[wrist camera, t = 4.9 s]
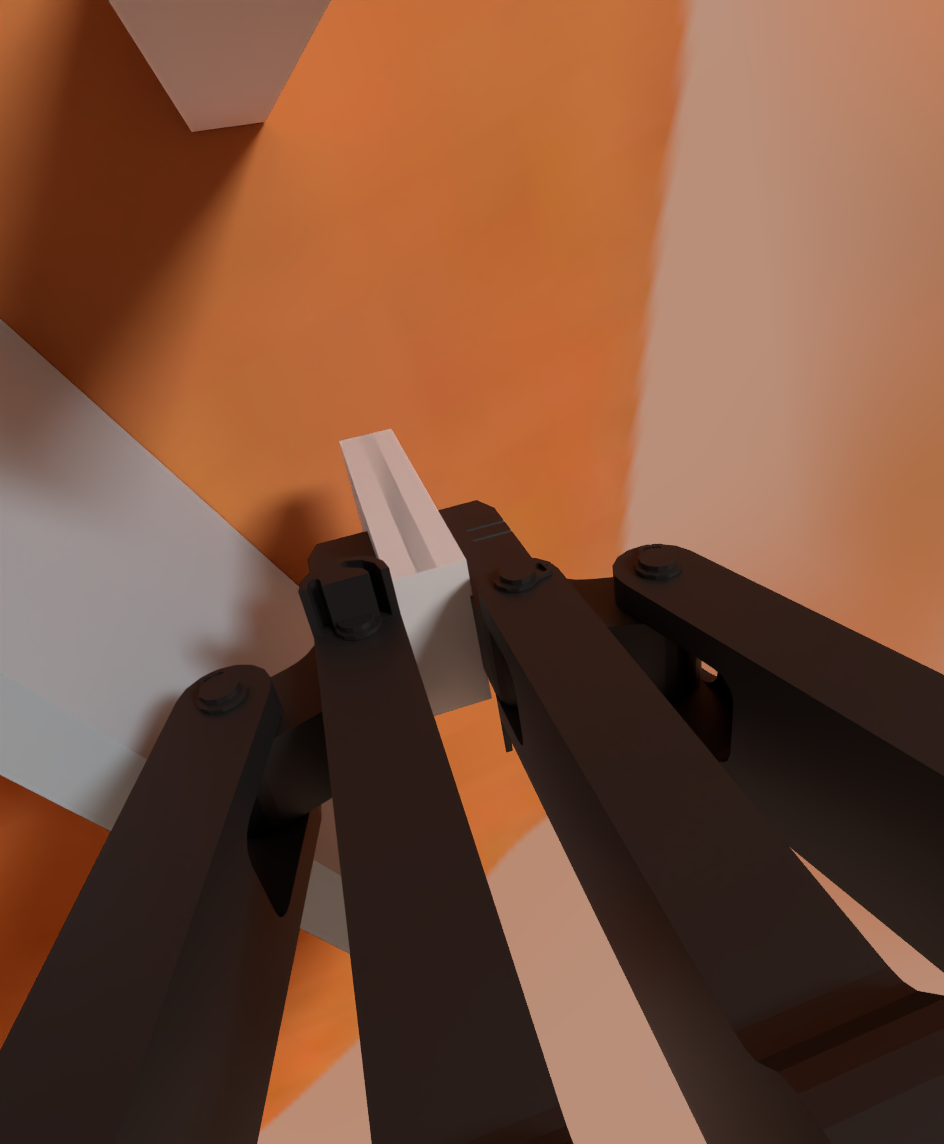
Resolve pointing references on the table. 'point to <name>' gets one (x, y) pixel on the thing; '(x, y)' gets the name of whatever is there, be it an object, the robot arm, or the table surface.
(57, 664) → the door
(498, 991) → the robot arm
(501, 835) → the table surface
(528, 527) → the table surface
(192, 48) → the wall frame
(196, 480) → the table surface
